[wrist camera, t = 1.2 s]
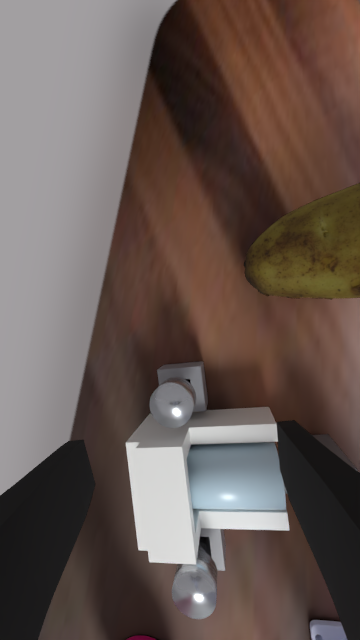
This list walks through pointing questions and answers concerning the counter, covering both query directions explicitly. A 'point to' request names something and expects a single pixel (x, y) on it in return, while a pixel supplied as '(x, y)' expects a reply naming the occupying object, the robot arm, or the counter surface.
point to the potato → (310, 250)
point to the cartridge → (241, 475)
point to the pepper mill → (140, 638)
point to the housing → (173, 481)
